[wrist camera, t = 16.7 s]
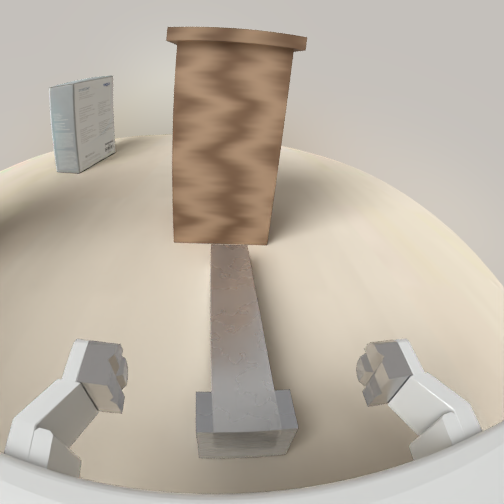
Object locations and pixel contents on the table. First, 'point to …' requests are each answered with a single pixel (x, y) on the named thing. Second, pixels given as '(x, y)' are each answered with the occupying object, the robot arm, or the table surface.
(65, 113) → the hard drive box
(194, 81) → the walnut stand
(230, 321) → the link bar
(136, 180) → the table surface
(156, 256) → the table surface
